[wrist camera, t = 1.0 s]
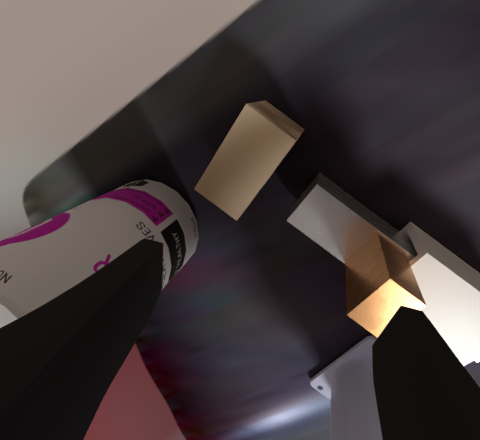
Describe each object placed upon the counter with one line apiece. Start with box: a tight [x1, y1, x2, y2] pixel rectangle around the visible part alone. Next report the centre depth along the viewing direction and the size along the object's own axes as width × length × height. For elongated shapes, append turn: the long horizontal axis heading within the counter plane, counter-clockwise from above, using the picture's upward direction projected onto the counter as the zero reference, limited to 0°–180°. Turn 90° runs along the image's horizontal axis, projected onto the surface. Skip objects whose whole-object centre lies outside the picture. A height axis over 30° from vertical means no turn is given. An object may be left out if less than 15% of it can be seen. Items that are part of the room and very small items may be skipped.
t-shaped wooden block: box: [287, 172, 480, 363], centre depth 18 cm, size 15×3×8 cm, turn 57°
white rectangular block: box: [400, 222, 480, 366], centre depth 20 cm, size 7×5×5 cm, turn 57°
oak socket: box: [194, 100, 305, 221], centre depth 20 cm, size 3×6×5 cm, turn 147°
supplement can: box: [0, 179, 199, 328], centre depth 21 cm, size 8×8×15 cm
